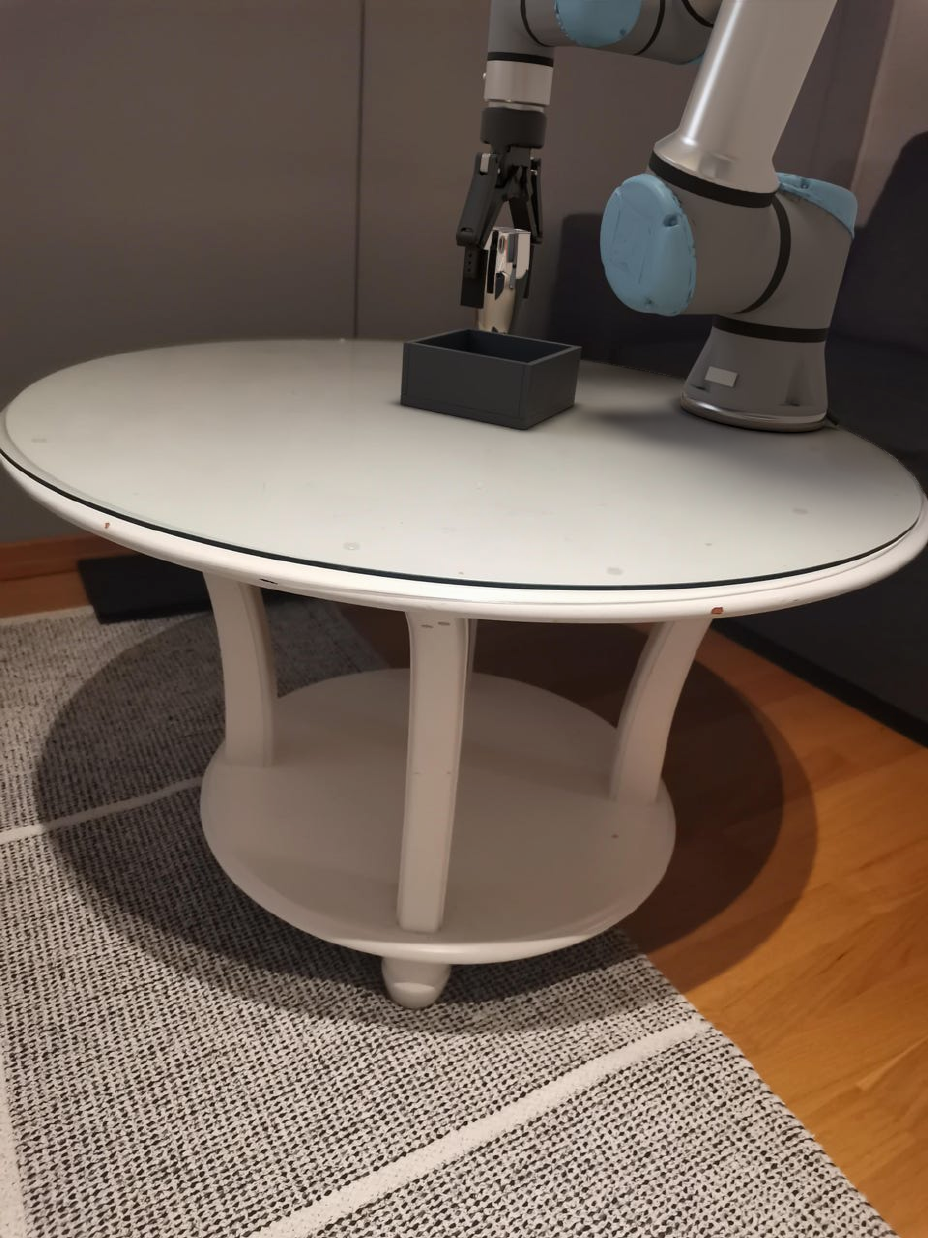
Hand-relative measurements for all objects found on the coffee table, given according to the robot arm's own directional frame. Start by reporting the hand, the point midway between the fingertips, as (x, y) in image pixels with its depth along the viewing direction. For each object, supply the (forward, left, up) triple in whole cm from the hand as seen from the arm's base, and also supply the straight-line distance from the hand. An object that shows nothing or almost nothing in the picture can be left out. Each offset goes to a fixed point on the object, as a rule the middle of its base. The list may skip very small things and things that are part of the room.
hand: (495, 301), depth 117 cm
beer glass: (0, 0, -7) cm, 7 cm away
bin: (-11, +24, -7) cm, 27 cm away
